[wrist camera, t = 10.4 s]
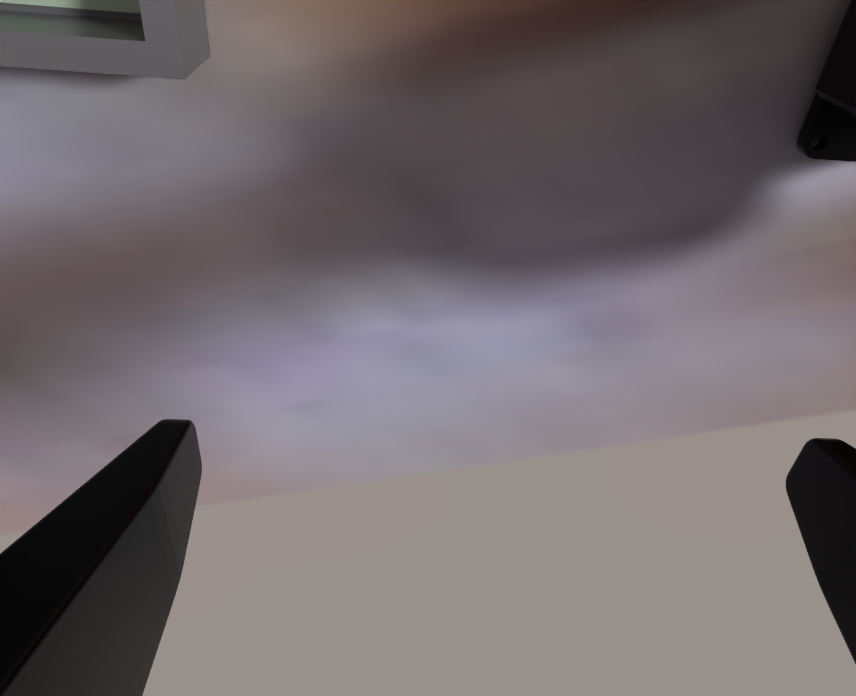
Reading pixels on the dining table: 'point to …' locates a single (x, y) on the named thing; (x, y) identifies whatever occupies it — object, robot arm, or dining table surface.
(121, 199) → the dining table surface
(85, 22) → the socket strip
